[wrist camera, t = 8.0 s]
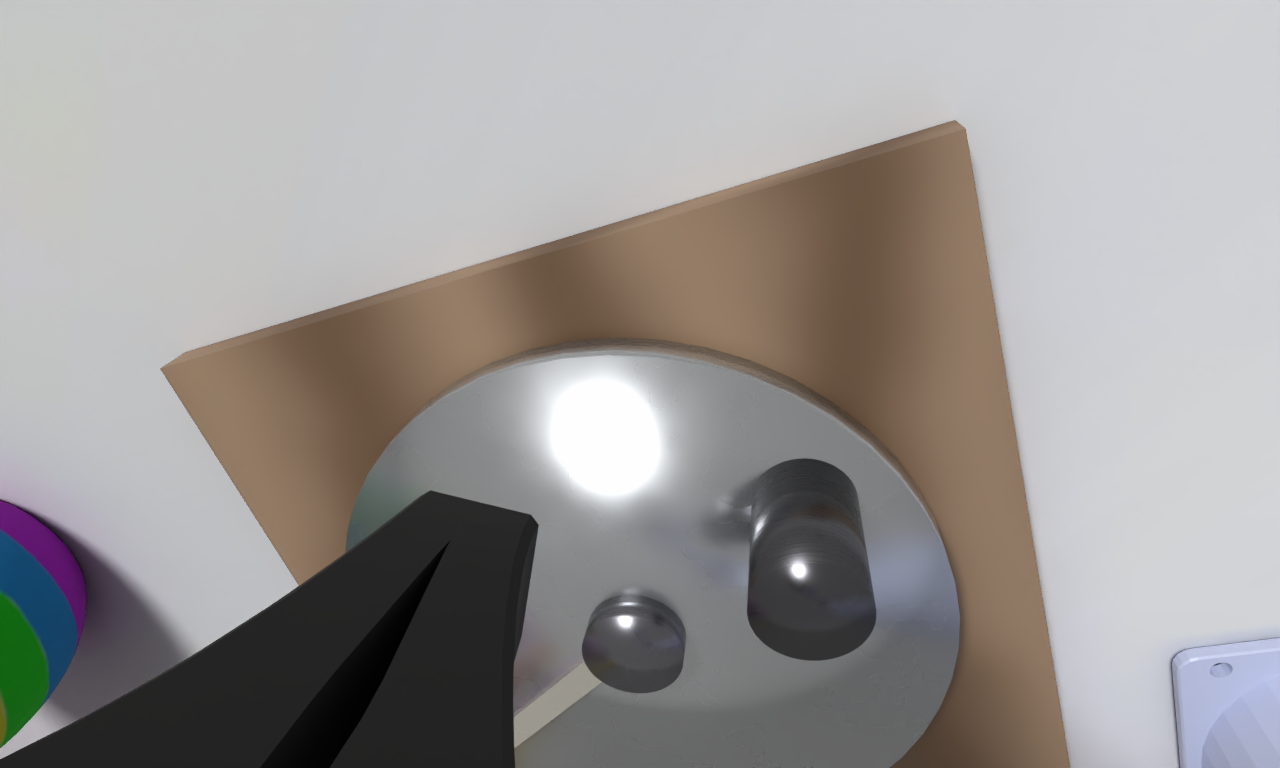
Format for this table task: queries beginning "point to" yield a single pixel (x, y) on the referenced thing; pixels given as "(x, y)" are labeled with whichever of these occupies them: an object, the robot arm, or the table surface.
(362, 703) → the robot arm
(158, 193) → the table surface
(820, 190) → the dial plate
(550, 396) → the dial
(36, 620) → the decorative egg
